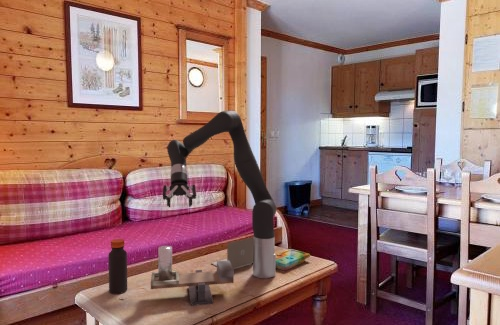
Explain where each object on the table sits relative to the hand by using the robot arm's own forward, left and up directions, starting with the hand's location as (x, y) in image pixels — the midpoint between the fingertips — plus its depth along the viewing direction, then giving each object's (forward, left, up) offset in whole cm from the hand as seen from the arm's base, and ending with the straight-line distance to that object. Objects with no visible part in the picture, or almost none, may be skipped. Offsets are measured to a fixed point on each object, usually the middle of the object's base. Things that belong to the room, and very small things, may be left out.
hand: (179, 206), depth 160 cm
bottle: (+24, +11, -31) cm, 41 cm away
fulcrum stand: (-7, +21, -31) cm, 38 cm away
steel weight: (+6, +20, -23) cm, 32 cm away
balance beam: (-4, +21, -25) cm, 32 cm away
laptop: (-26, -12, -31) cm, 42 cm away
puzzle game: (-51, -7, -31) cm, 60 cm away
